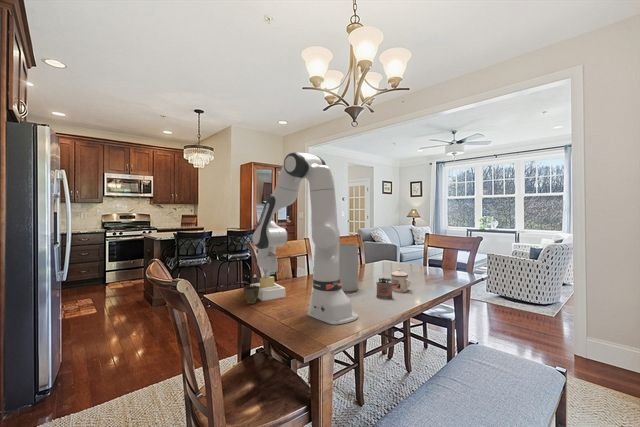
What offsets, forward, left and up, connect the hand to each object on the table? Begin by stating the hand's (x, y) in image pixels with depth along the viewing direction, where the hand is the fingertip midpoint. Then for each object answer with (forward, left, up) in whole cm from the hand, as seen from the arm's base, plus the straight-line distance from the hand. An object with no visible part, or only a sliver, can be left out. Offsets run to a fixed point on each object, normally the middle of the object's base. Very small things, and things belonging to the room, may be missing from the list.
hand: (267, 277), depth 152 cm
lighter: (-37, -48, -9) cm, 61 cm away
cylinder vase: (-14, -42, -9) cm, 45 cm away
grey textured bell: (-10, +12, -9) cm, 18 cm away
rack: (0, 0, -9) cm, 9 cm away
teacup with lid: (-33, -65, -9) cm, 74 cm away
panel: (0, 0, -8) cm, 8 cm away
